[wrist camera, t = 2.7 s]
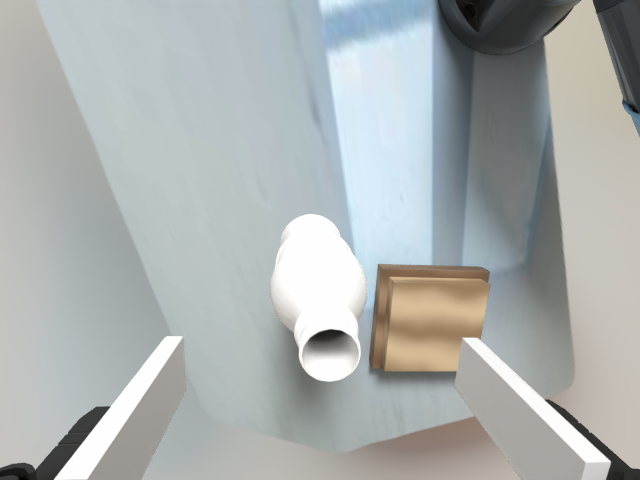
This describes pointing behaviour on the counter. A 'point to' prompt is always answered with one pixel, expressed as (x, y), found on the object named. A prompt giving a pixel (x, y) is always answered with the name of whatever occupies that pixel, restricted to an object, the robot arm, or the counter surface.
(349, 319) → the water bottle
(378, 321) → the walnut slab
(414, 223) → the counter surface
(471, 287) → the oak slab
